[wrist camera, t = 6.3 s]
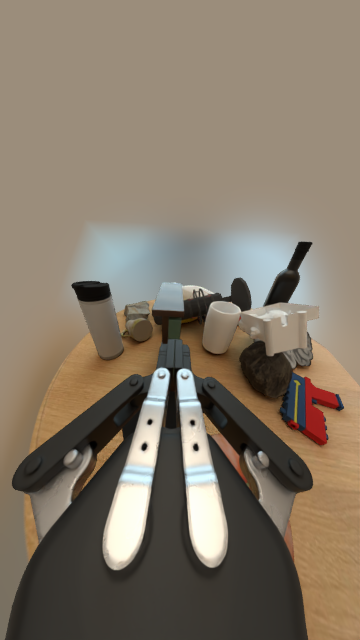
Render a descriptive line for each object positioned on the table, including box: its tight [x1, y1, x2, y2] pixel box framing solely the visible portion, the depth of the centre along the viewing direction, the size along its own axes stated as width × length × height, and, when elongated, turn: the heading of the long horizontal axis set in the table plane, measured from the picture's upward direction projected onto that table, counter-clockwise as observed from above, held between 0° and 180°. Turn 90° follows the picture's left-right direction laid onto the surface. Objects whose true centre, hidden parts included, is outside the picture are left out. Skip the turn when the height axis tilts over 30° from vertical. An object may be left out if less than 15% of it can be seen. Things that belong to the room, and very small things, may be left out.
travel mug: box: [72, 281, 124, 360], centre depth 31 cm, size 6×7×20 cm
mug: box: [121, 318, 153, 341], centre depth 41 cm, size 8×10×10 cm
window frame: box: [152, 282, 184, 391], centre depth 28 cm, size 13×4×20 cm, turn 0°
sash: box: [168, 317, 181, 376], centre depth 24 cm, size 6×2×13 cm, turn 0°
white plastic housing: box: [238, 303, 319, 356], centre depth 30 cm, size 13×12×8 cm
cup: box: [202, 301, 241, 354], centre depth 37 cm, size 8×8×14 cm
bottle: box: [182, 285, 215, 317], centre depth 58 cm, size 11×11×25 cm
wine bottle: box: [263, 242, 312, 307], centre depth 43 cm, size 6×6×30 cm
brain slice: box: [254, 332, 313, 369], centre depth 40 cm, size 20×17×3 cm
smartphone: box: [122, 391, 204, 440], centre depth 24 cm, size 7×1×15 cm
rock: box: [239, 341, 292, 398], centre depth 30 cm, size 10×11×10 cm
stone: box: [124, 301, 150, 322], centre depth 52 cm, size 11×12×5 cm
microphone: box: [153, 278, 251, 325], centre depth 44 cm, size 14×13×30 cm
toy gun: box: [280, 372, 344, 445], centre depth 26 cm, size 15×2×10 cm
